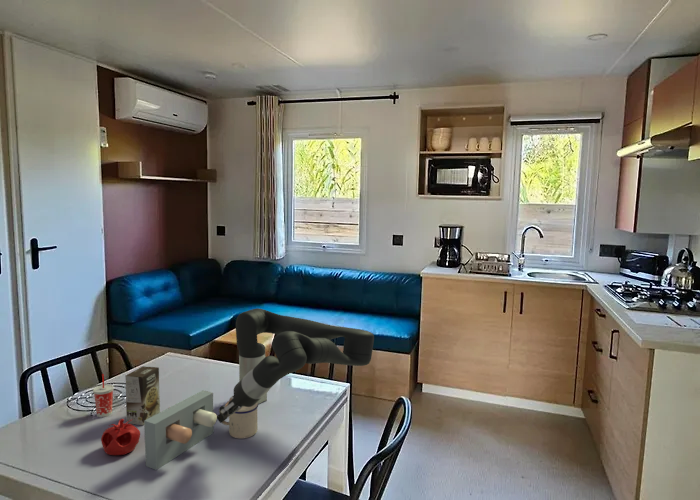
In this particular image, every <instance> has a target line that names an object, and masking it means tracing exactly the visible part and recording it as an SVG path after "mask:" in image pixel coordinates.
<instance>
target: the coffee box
mask: <svg viewBox="0 0 700 500" xmlns="http://www.w3.org/2000/svg"><path fill="white" fill-rule="evenodd" d="M160 397H161V396H160V368H159V367H158V366H157V367H156V366H144V365H143V366H141V367H139V368H137V369H135V370H134V371H132V372H129V373H128V374H126V375H125V406H126V407H125V411H126V413H125V414H126V423H127V422H128V421H129V420H132V419H133V420H132V421H129V422H128V423H127V424H131V425H138V426H139V425H140V426H144V421H145V420H147V419H148V418H150V417H152V416H154V415H156V414H158V413H160V412H161V404H160V402H161V401H160Z"/></svg>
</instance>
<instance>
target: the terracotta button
mask: <svg viewBox="0 0 700 500" xmlns="http://www.w3.org/2000/svg"><path fill="white" fill-rule="evenodd" d="M191 436H192V430H191V429H190V428H187V427H184V426H180V425H177V424H174V423H172V424H170V425H169V426H167V427H166V438H168V439H171V440H174V441H177V442H180V443H183V444H185V443H187V442H188V441H189V440H190V438H191Z"/></svg>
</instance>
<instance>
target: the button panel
mask: <svg viewBox="0 0 700 500" xmlns="http://www.w3.org/2000/svg"><path fill="white" fill-rule="evenodd" d="M197 409H202V410H205V411H209V412H212V413H214V393H213V392H212V391H207V390H204V389H203V390H200V391H199V392H197V393H194V394H193V395H191V396H189V397H187V398H185V399H183V400H181V401H179V402H178V403H175V404H174V405H171V406H170V407H168V408H166V409H165V410H162V411H160V413H158V414H156V415H154V416H152V417H150V418H148V419H147V420H145V421H144V425H143V426H144V450H145V451H144V452H145V453H144V455H145V458H144V459H145V467H147V468H150V469H153V470H155V471H157V470H159V469H160V468H162V467H164V466H165V465H166V464H168V463H169V462H171V461H173V460H174V459H176V458H177V457H178V456H180V455H182V454H183V453H185V452H186V451H188V450H189V449H191V448H192V447H194V446H195V445H197V444H199V443H200V442H202V441H203V440H205V439H206V438H208V437H209V436H211V435H212V434H214V432H215V430H214V428H215V427H214V426H215V425H214V426H212V427H207V426H204V425H201V424H197V423H194V422H193V411H195V410H197ZM172 423H174V424H177V425H180V426H184V427H187V428H190V429H191V430H192V436H191V438H190V440H189V441H188V442H187V443H185V444H183V443H180V442H177V441H174V440H171V439H168V438H166V427H167V426H169V425H170V424H172Z"/></svg>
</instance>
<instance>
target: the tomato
mask: <svg viewBox="0 0 700 500" xmlns="http://www.w3.org/2000/svg"><path fill="white" fill-rule="evenodd" d="M132 420H133V419H132ZM132 420H129V421H132ZM124 421H125V419H124V418H120V419H119V420H118V423H117V424H115V423H112V424H109V425H108V427H107V428H106V429H105V430H104V431H103V432H102V435H101V438H100V441H101V445H102V449H103V451H104V452H105V454H106V455H110V456H123V455H127V454H128V453H129V454H130V453H132V452H133V451H134V450H135V449H136V447H137V445H138V444H139V442H140V438H141V430H139V429H138V428H137V427H136V426H135V425H134V424H130V423H128V422H129V421H128V422H127V421H126V422H124ZM110 426H111V427H110Z"/></svg>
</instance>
